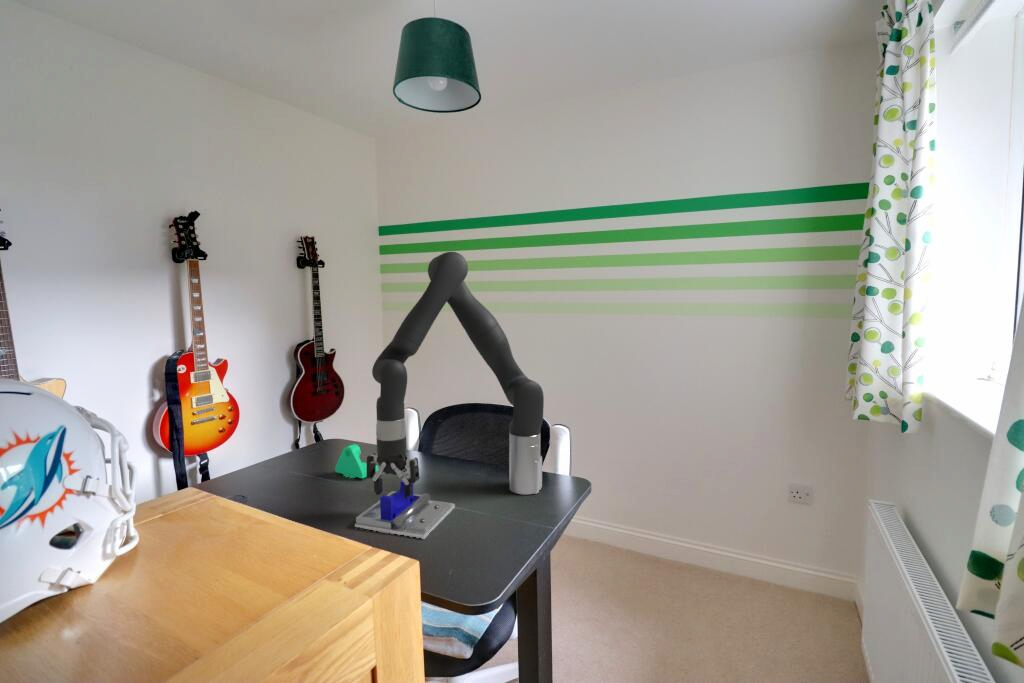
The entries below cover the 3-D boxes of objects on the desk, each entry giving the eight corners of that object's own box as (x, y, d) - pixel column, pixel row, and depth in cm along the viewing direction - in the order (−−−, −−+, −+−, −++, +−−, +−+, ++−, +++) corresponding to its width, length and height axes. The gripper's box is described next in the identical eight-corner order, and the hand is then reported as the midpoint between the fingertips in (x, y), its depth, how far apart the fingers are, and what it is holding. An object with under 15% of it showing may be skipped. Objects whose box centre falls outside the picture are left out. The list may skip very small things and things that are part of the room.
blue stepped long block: (398, 500, 132) (398, 479, 131) (413, 502, 130) (413, 481, 130) (375, 519, 120) (374, 497, 120) (391, 522, 119) (390, 499, 118)
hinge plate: (454, 507, 129) (454, 495, 129) (424, 539, 112) (423, 525, 112) (393, 498, 135) (393, 487, 135) (355, 528, 118) (354, 515, 118)
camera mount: (380, 473, 155) (379, 443, 154) (362, 481, 148) (361, 449, 147) (353, 467, 160) (352, 438, 160) (335, 475, 154) (334, 444, 153)
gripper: (423, 433, 124) (424, 492, 126) (375, 429, 128) (377, 487, 130) (408, 441, 117) (410, 504, 119) (359, 437, 121) (361, 498, 123)
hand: (393, 495), depth 124 cm, fingers open, 8 cm apart
